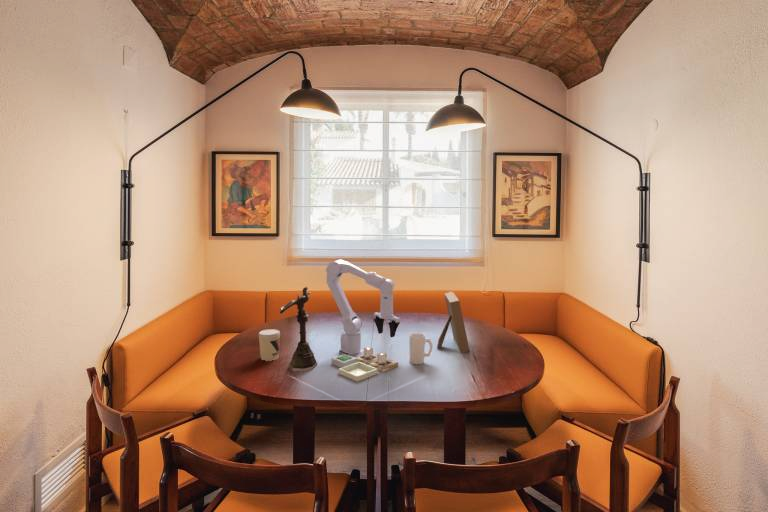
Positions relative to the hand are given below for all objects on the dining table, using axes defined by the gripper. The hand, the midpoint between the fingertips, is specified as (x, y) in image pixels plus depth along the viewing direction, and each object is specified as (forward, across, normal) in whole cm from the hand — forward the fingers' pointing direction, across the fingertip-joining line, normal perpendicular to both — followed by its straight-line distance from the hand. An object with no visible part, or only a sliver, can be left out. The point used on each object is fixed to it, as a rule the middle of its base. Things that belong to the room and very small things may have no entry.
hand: (386, 334), depth 188 cm
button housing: (+9, -4, -22) cm, 24 cm away
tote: (+9, +8, -25) cm, 28 cm away
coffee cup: (+10, -34, -40) cm, 53 cm away
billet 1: (+9, 0, -12) cm, 15 cm away
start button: (+9, -4, -22) cm, 24 cm away
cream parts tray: (+9, +5, -12) cm, 16 cm away
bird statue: (+10, -16, -38) cm, 42 cm away
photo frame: (+10, +13, +33) cm, 37 cm away
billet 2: (+9, +10, -13) cm, 18 cm away
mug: (+10, +17, +4) cm, 20 cm away
